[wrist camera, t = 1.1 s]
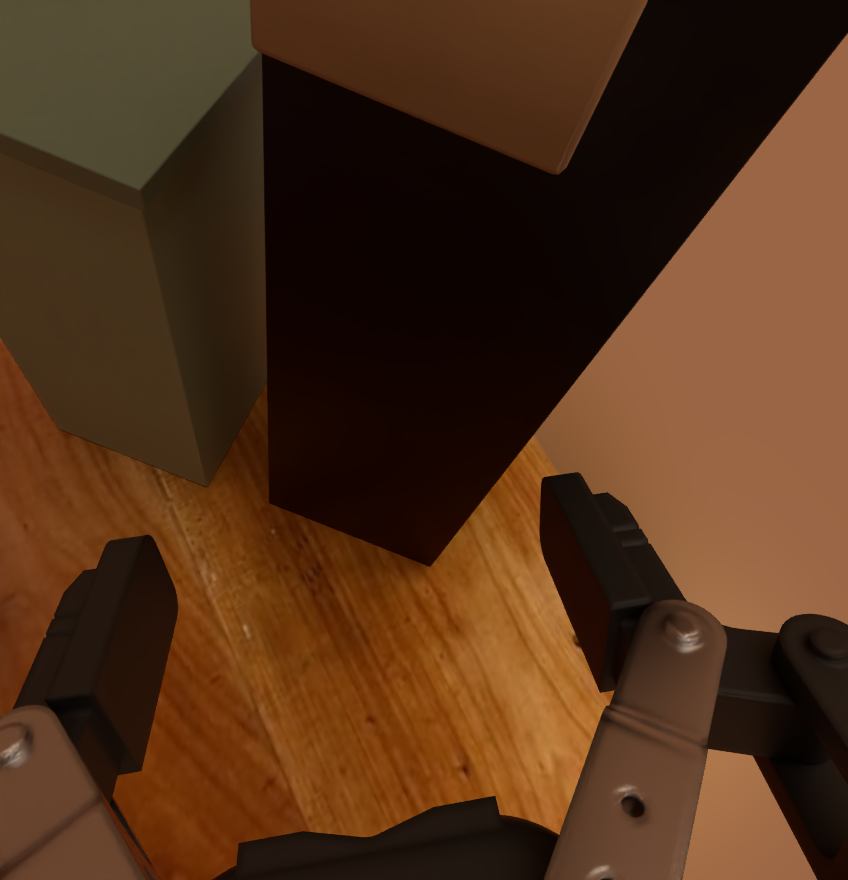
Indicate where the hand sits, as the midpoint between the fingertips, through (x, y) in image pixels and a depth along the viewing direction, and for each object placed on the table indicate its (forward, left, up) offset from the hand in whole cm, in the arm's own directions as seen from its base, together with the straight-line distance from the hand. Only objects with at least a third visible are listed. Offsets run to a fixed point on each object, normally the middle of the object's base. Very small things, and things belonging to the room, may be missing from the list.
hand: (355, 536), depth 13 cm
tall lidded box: (-16, +8, -22) cm, 29 cm away
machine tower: (-4, +11, -22) cm, 25 cm away
